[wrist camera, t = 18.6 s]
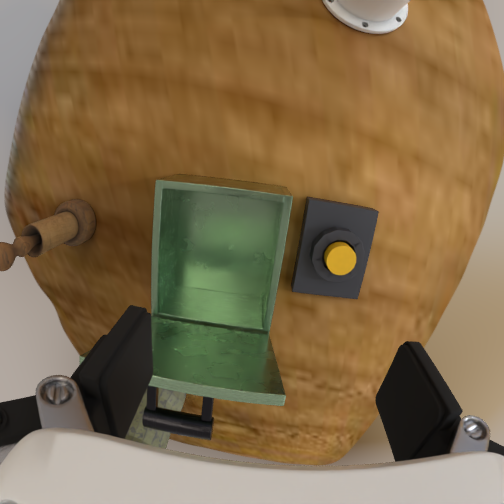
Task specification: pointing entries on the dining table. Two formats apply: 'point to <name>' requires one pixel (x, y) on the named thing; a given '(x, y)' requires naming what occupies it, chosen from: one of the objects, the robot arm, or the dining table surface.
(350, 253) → the button
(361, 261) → the control box
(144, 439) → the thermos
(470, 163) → the dining table surface
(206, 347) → the lid
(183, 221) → the green box
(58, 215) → the mortar and pestle
